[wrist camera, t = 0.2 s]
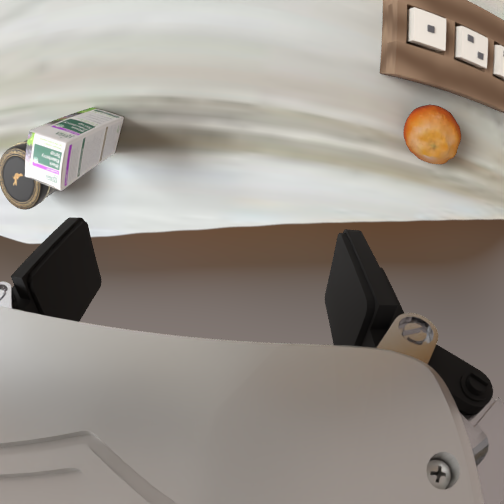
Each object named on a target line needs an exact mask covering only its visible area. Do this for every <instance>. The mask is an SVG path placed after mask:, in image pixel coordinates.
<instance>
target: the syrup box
mask: <svg viewBox="0 0 504 504" xmlns="http://www.w3.org/2000/svg"><path fill="white" fill-rule="evenodd" d="M123 120H124V117H122V116H119V115H116V114H113V113H110V112H107V111H103V110H100V109H96V108H89V109H86V110H83V111H79V112H77V113H74V114H71V115H68V116H65V117H62V118H60V119H57V120H54V121H52V122H49V123H47V124H44V125H41V126H39V127H37V128H34V129H32V130H30V131H29V135H28V141H27V148H26V157H25V177H28V178H32V179H34V180H36V181H38V182H40V183H42V184H45V185H47V186H50V187H53V188H55V189H58V190H60V191H62V190H64V189H65V188H66V187H68V186H69V185H70V184H72V183H73V182H74V181H76V180H77V179H78V178H80V177H81V176H83V175H84V174H85V173H87V172H88V171H89V170H91V169H92V168H94V167H95V166H97V165H98V164H99V163H101V162H102V161H104V160H105V159H107V158H108V157H110V156H111V155H113V154H114V153H115V151H116V147H117V143H118V139H119V135H120V131H121V127H122V124H123Z"/></svg>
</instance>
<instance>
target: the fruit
mask: <svg viewBox="0 0 504 504" xmlns="http://www.w3.org/2000/svg"><path fill="white" fill-rule="evenodd" d="M404 139H405V141H406V145H407V146H408V148H409V150H410V151H411V152H412V153H413V154H415V155H416V156H417V157H418V158H419V159H421V160H423V161H426V162H428V163H432V164H444V163H446V162H447V161H448V160H449V159H451V158H453V157H454V156H455V155H456V153H457V149H458V146H459V143H460V140H461V132H460V128H459V125H458V124H457V122H456V120H455V119H454V117H453V116H452V114H451V113H450V112H448V111H447V110H445V109H443V108H441V107H439V106H435V105H430V104H429V105H426V106H422V107H419V108H416V109H415V110H413V112H412V113H411V114H410V115H409V117H408V118H407V120H406V123H405V126H404Z"/></svg>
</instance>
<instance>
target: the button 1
mask: <svg viewBox="0 0 504 504" xmlns="http://www.w3.org/2000/svg"><path fill="white" fill-rule="evenodd" d="M407 42H410V43H414V44H417V45H420V46H423V47H426V48H429V49H432V50H435V51H445V50H446V19H445V18H443V17H440V16H437V15H435V14H432V13H429V12H427V11H424V10H421V9H418V8H415V7H413V8H411V9H408V10H407Z"/></svg>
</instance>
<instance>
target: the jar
mask: <svg viewBox="0 0 504 504" xmlns="http://www.w3.org/2000/svg"><path fill="white" fill-rule="evenodd" d="M27 141H28V140H27ZM27 141H24V142H21V143H18V144H16V145H14V146H13V147H11V148H9V149H8V150H7V151H6V152H5V153H4V154H3V156H2V158H1V160H0V186H1V189H2V191H3V193H4V195H5V197H6V198H7V199H8V201H9V202H10V203H11V204H13V205H14V206H15V207H17V208H20V209H30V208H33V207H34V206H36V205H37V204H39V203H41V202H42V201H43V200H44V199H45V198H46V197H48V196H49V195H50V194H52V193H53V192H54V191H55V190H56V189H55V188H53V187H50V186H47V185H45V184H42V183H40V182H38V181H36V180H34V179H32V178H28V177H25V157H26V148H27Z"/></svg>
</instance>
